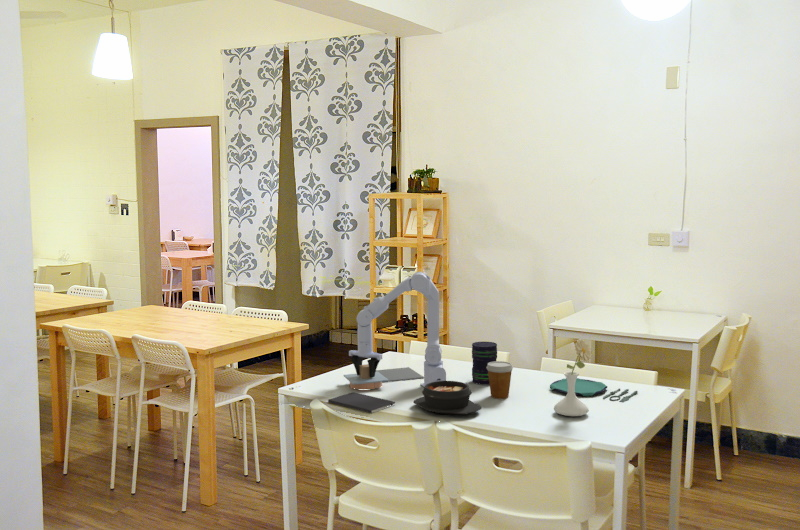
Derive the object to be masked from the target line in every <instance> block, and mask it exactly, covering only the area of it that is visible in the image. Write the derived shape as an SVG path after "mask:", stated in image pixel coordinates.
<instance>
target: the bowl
mask: <svg viewBox="0 0 800 530" xmlns="http://www.w3.org/2000/svg"><path fill="white" fill-rule="evenodd" d="M381 386H383V382H375V383H366V384H356V385H353V384H352V383H351V382H350V381H349V387H350V388H351V387H352V388H355V389H375V388H378V389H380V388H379V387H381ZM352 388H351V389H352ZM381 388H382V387H381ZM355 389H354V390H355ZM375 390H376V389H375Z"/></svg>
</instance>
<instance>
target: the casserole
mask: <svg viewBox="0 0 800 530" xmlns="http://www.w3.org/2000/svg"><path fill="white" fill-rule="evenodd" d="M421 393H422V395H423V396H420V397H417V398H416V399H414V400H413V404H414V405H417V406H419V407H420V408H422V409H423V410H424V411H425V410H426V411H428V412H431V411H432V413H434V412H435V413H434V414H439V413H440V415H468V414H473V413H476V412H479V411H480V410H482V405H480V404H478V403H475V402H474V401H472V400H471V399H470V397H471V395H472V393H473V392H472V390H471V389H470V387H469V384H467V383H466V382H465V383H464V382H462V381H458V380H457V381H456V380H446V381H436V382H431V383H428V384H426V385H425V387H423V390H422V391H421Z"/></svg>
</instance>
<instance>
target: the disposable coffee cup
mask: <svg viewBox="0 0 800 530" xmlns="http://www.w3.org/2000/svg"><path fill="white" fill-rule="evenodd" d="M486 368H487V370H488V376H489V384H490V385H489V391H490V396H491V398H493V399H500V400H501V399H503V400H504V399H507V398H509V394H510V387H511V380H512V371H513V369H514V366H513V364H512V363H511V362H509V361H504V360H503V361H502V360H501V361H500V360H499V361H498V360H496V361H494V362H489V363H488V365H487V367H486Z"/></svg>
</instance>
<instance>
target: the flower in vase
mask: <svg viewBox="0 0 800 530" xmlns="http://www.w3.org/2000/svg"><path fill="white" fill-rule="evenodd" d="M589 346H590V345H589V344H588V343H586V341H585V340H583V339H580V338H579V339H577V340H576V342H575V345H574V348H575V351H576V355H577V357H576V360H575V363H574V365H570V364H569V363H567V364H566V368H567V369H569V370H570V369H571V371H565V372H563V375H564V376H565V379H567V383H568V393H566V396H564V397H563V398H562V399H560V400H559V401H557V402H556V404H554V406H553V410H554V412H555V413H557V414H559V415H562V416H566V417H581V416H584V415H586V414H588V412H589V407H588V406H587V404H586V403H584V402H583V401H582V400H581V399H580V398H578V397H577V395H576V394H575V382H576V378H578V376H579V375H580V373H579V372H577V371H574V370H575V368H576V366H577V367H578V368H579V369H583V368H584V367H585V366H586V364H585V362H586V363H589V362H590V360H592V350H591V348H590V347H589ZM579 358H580V360H578V359H579Z"/></svg>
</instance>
